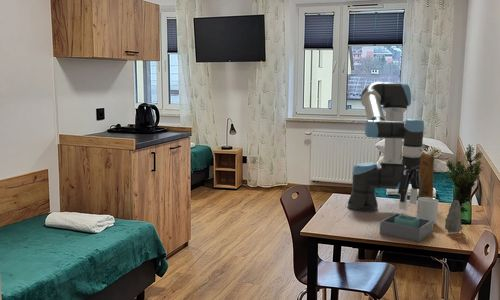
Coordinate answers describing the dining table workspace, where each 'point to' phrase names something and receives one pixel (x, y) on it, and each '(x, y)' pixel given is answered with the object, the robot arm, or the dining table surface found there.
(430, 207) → the mug
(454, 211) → the stone tool
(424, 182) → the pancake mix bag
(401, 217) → the block
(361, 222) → the dining table surface
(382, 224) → the grey crate
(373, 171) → the robot arm
